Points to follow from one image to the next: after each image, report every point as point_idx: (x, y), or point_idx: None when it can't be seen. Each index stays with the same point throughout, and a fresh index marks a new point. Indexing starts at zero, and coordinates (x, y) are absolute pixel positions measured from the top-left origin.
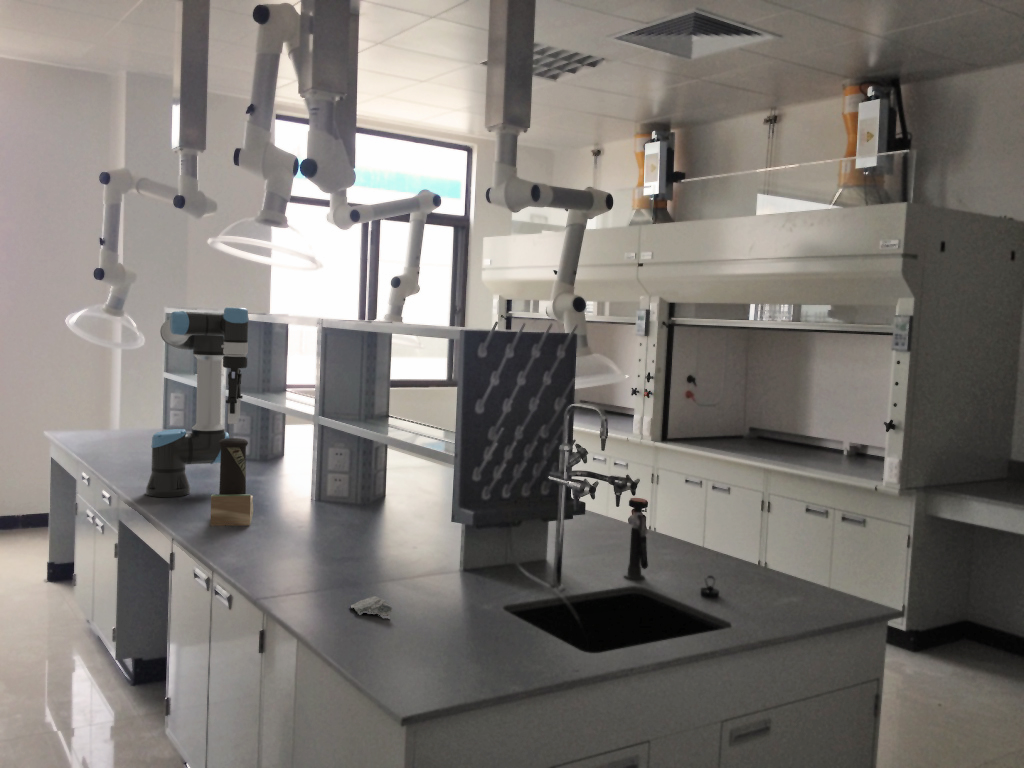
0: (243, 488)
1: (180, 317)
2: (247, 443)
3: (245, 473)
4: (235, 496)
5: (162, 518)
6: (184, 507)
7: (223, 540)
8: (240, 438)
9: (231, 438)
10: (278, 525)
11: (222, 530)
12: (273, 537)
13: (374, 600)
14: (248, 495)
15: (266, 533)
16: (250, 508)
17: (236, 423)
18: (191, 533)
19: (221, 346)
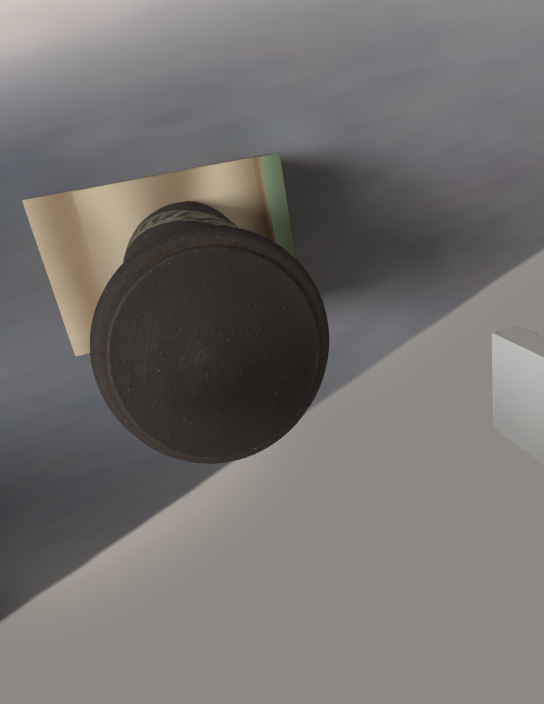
0: (214, 210)
1: None
2: (206, 225)
3: (192, 214)
4: (290, 226)
5: (195, 480)
6: (3, 486)
7: (463, 194)
8: (116, 327)
9: (223, 381)
10: (233, 29)
11: (335, 238)
12: (426, 15)
13: None
14: (280, 163)
15: (368, 57)
16: (246, 158)
17: (521, 329)
18: (380, 322)
19: None
